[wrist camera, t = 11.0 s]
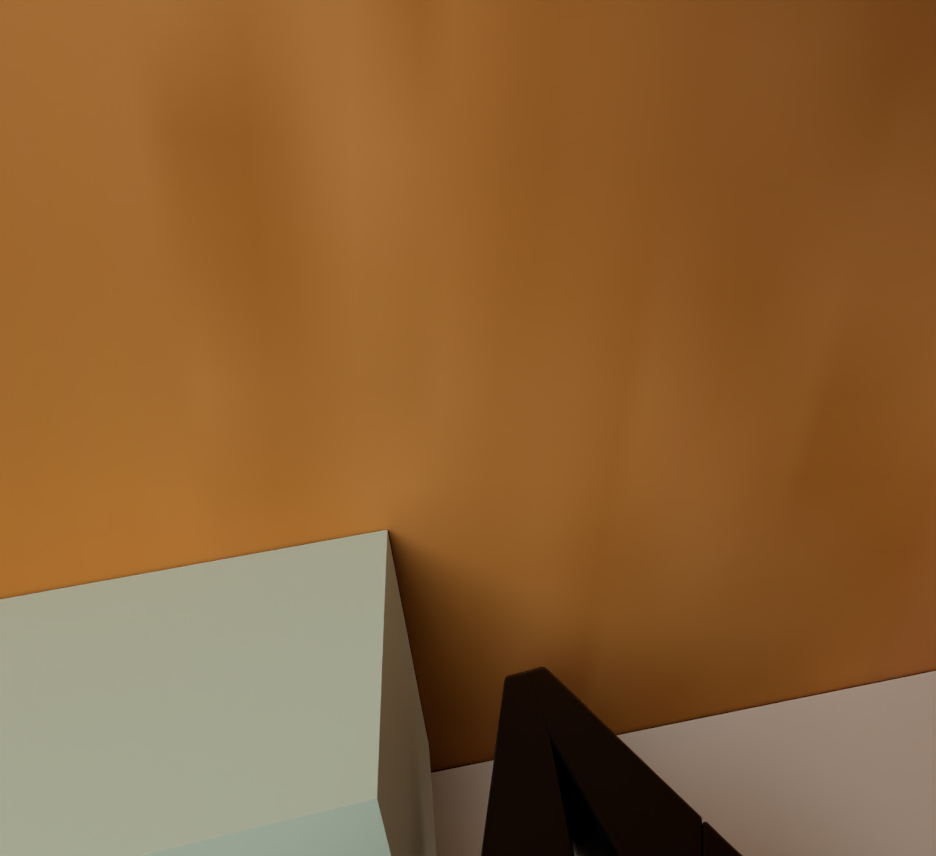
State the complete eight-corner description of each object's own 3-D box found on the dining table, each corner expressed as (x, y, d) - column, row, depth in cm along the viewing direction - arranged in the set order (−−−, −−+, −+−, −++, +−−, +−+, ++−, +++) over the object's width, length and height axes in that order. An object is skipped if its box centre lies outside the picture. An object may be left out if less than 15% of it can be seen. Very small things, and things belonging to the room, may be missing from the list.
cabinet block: (-76, 613, 8) (-1107, 1308, 3) (387, 529, 9) (371, 912, 3) (47, 834, 10) (-422, 1557, 4) (428, 745, 10) (465, 1245, 5)
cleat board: (-726, 640, 7) (-1804, 972, 3) (1050, 410, 10) (1353, 463, 7) (-365, 1010, 9) (-788, 1405, 6) (959, 720, 13) (1153, 865, 10)
